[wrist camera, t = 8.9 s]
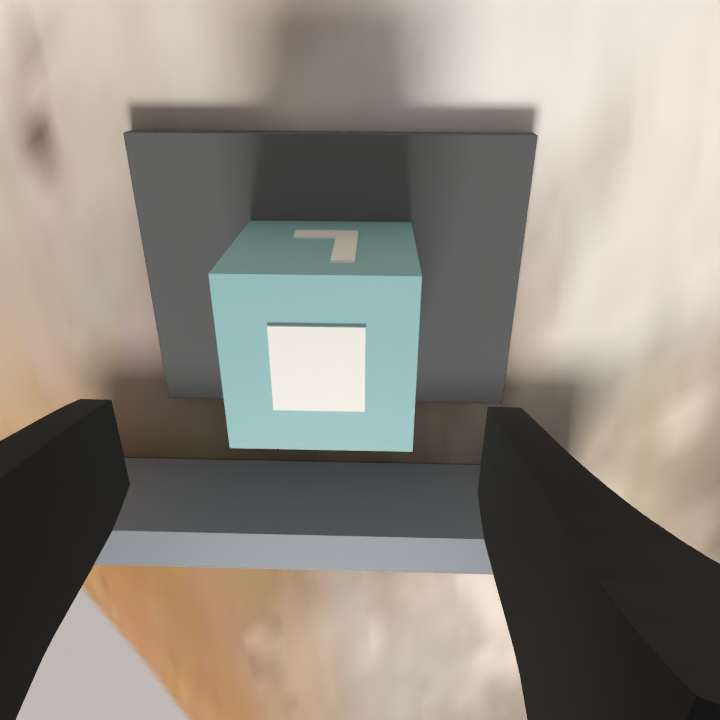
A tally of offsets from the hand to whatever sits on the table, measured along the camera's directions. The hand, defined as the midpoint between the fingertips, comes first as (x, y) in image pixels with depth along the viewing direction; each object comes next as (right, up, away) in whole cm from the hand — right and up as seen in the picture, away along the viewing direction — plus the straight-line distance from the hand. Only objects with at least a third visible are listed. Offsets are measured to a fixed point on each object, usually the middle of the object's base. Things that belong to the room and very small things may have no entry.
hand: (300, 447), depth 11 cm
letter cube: (0, +4, +8) cm, 9 cm away
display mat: (0, +4, +8) cm, 9 cm away
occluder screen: (0, -3, +12) cm, 13 cm away
